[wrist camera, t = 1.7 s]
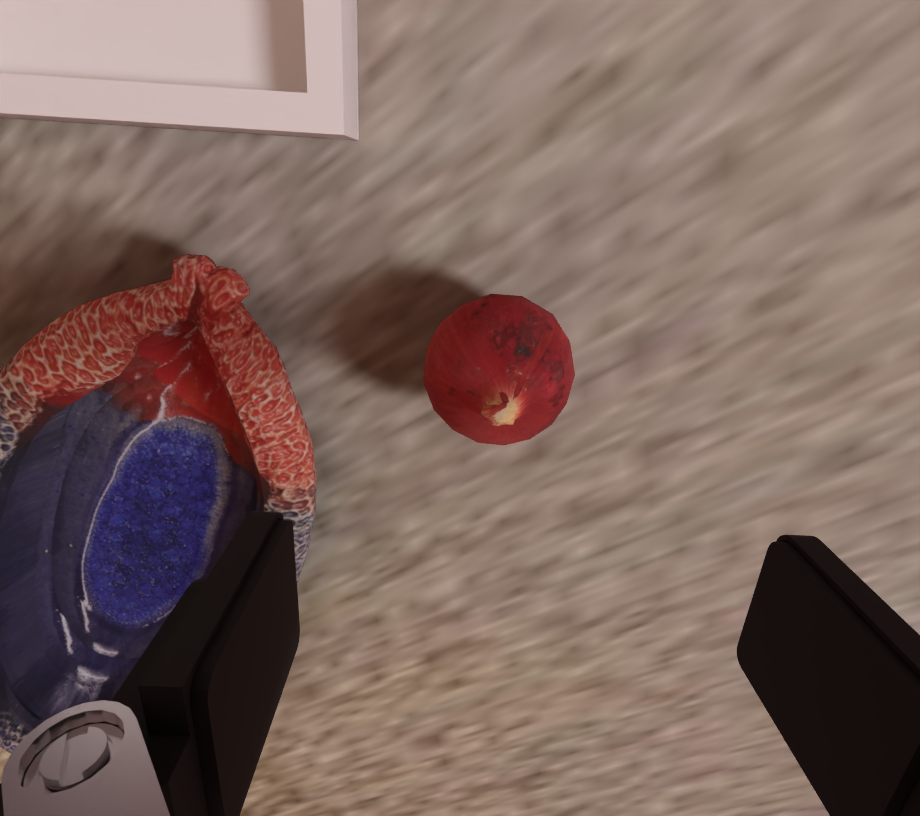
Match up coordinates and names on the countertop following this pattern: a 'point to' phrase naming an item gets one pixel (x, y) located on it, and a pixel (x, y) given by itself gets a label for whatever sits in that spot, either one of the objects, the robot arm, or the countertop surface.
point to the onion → (499, 369)
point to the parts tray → (184, 64)
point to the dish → (133, 478)
